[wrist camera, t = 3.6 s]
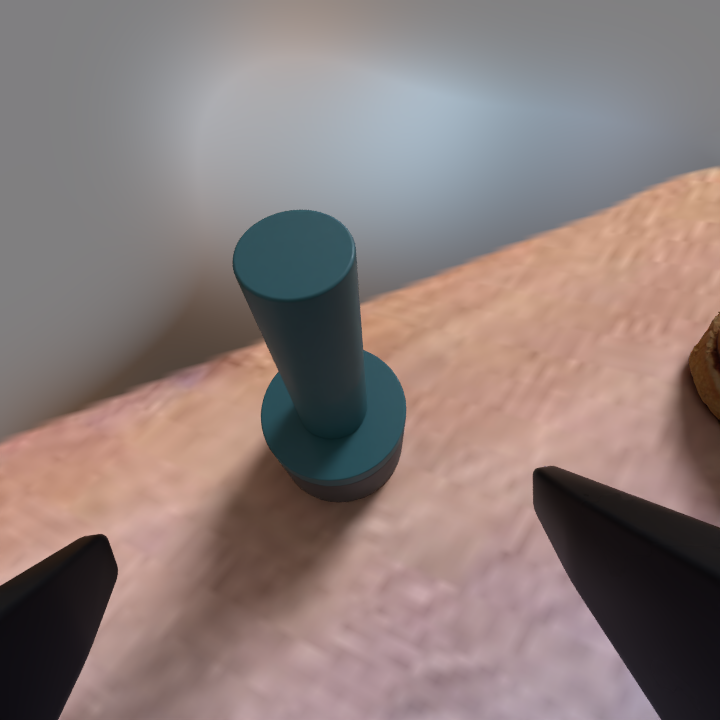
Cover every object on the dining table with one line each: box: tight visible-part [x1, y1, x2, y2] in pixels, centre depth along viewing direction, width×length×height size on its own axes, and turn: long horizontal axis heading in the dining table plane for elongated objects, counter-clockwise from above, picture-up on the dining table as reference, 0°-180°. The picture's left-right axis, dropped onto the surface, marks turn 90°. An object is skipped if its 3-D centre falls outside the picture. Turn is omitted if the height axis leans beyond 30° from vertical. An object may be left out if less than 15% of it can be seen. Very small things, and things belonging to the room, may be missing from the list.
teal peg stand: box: [233, 210, 406, 502], centre depth 16 cm, size 6×6×14 cm
